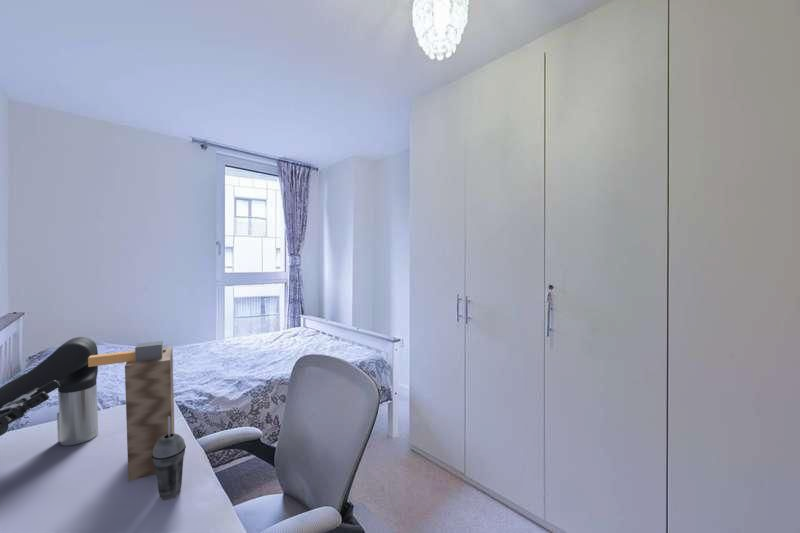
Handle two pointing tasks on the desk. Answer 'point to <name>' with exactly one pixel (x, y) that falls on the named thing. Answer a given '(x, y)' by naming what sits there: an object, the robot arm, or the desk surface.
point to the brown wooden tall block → (148, 410)
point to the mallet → (129, 354)
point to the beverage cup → (169, 464)
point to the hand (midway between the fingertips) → (52, 388)
